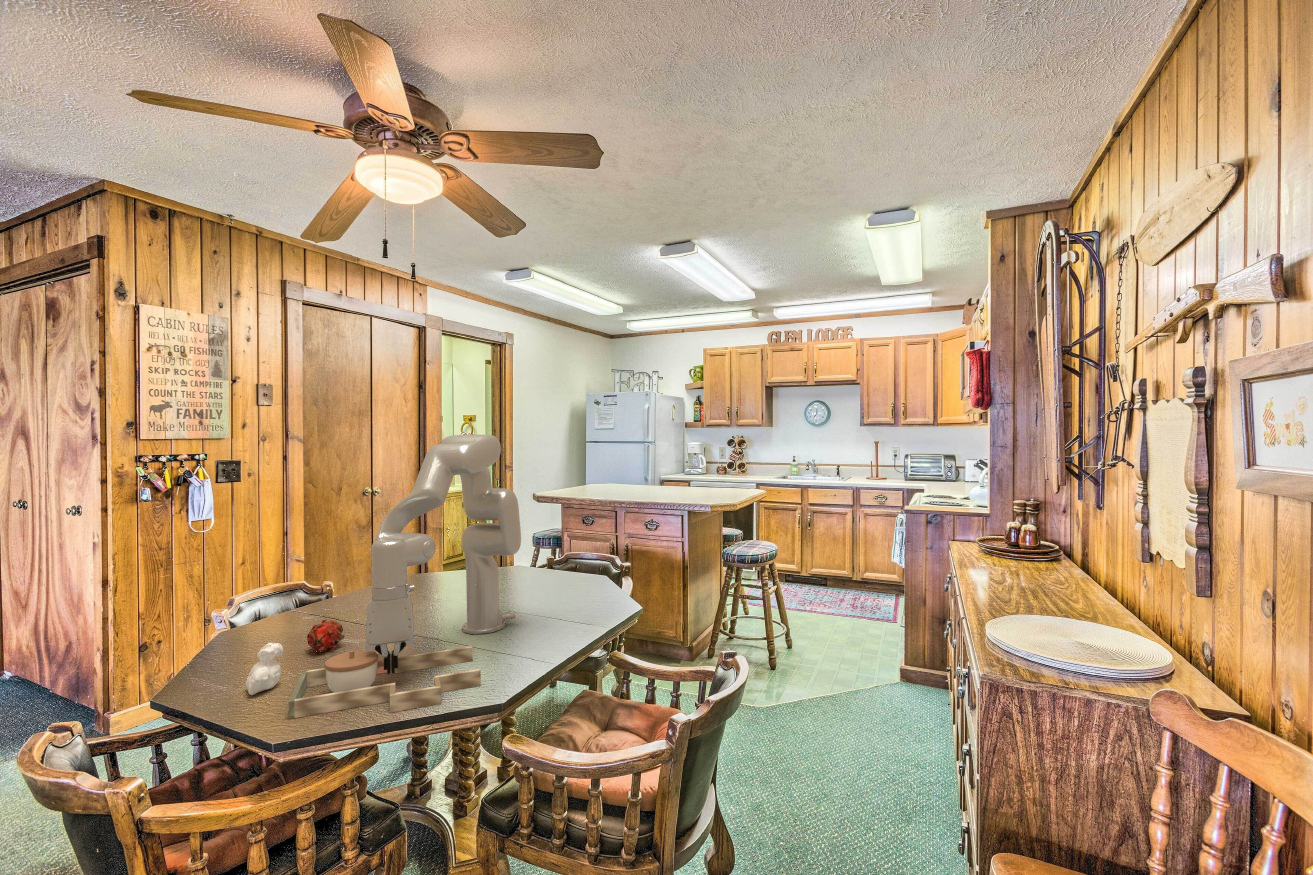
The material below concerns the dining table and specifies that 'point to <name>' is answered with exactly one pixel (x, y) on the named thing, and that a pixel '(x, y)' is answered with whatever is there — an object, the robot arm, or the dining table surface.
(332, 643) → the dragon fruit
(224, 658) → the dining table surface
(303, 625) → the dining table surface
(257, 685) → the duck figurine
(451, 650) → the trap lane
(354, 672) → the lidded jar
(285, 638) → the dining table surface
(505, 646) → the dining table surface
